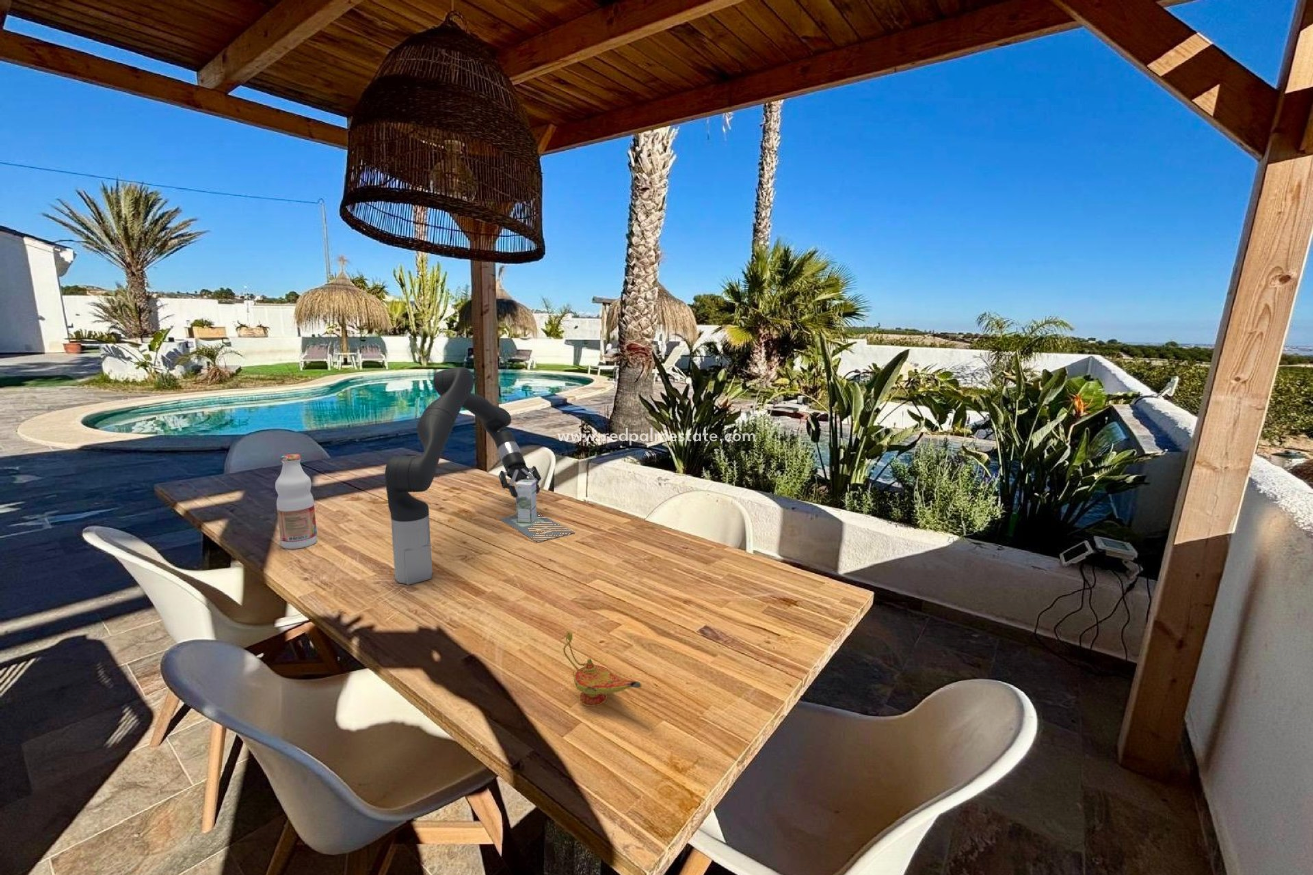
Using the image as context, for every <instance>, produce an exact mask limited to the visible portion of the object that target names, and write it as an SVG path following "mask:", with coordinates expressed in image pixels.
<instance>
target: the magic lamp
mask: <svg viewBox="0 0 1313 875" xmlns="http://www.w3.org/2000/svg"><path fill="white" fill-rule="evenodd" d="M572 640H573V634H572V633H571V632H570V631H566V634H565V642H566V644H565V645H564V646H563V649H562V650H563V651H562V652H563V655H564V657H565V658H566V660H568V661H569V662H570V664H571V665H572V666H573V667H574V669H575V670H576V671H573V672H572V675H573V682H574V683H573V684H574V685H575V687H576V688H577V690H578V691H580V692H581V693H580V694H579V697H578V698H579V699H578V700H579V702H580V703H581V704H582V705H584V706H586V707H598V706H601V705H602V704H603V703H605V702H606V701H607V697H608V694H615V693H619V692H621V691H625V690H627V689H630V688H636V689H639V688H641V687H642V683H641V682H639V681H636V680H627V679H624V680H623V679H620V678H618V677H616V676H615V675H614V674H613V673H612V672H611V671H610V670H609V669H608V668H606V667H604V666H602V665H599V664H598V665H597V664H594V663H593V661H592V659H591V658H587V660H586V662H584V663H580V662H579V661H578V660H577V658H576V656H575V655H574V653H573V649H572V646H571V643H572ZM567 646H569V649H570V652H571V656H572V658H573V660H574V662H575V663H576V664H577V665H578V666H581V668H579V667H578V666H577V665H576V664H575V663H574V662H573V661H572V660H571V658H570V657H569V655H568V654H567V652H566V647H567ZM574 672H575V674H574Z"/></svg>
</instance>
